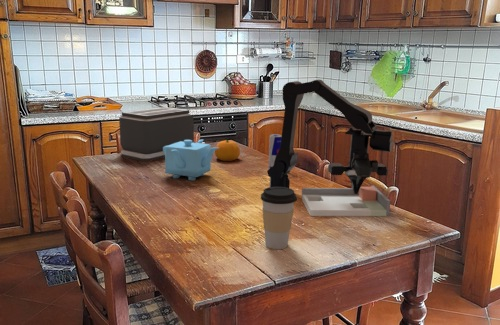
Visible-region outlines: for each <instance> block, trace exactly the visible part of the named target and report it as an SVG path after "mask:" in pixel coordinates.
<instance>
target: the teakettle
mask: <svg viewBox="0 0 500 325" xmlns="http://www.w3.org/2000/svg"><path fill="white" fill-rule="evenodd" d="M203 142H204V139H201V138H200V139H199V140H198V141H197V142H193V143H192V140H184V142H182V141H180V142H177V143H174V144H171V145H168V146H164V147H163V151H164V153H165V158H164V163H165V164H164V165H165V167H164V169H165V170H164V171H165V174H168V175H172V177H171V178H172V179H179V178H180V177H181V176H185V177H187V180H188V181H196V178H199V177H204V176H205V174H206V173H208V172H210V171H211V167H212V166H211V165H212V164H211V162H212V158H213V155H214V153H215V150H216V149H218V147H216V146H214V147H212V146H211V144H209V143H203Z"/></svg>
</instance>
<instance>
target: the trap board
mask: <svg viewBox="0 0 500 325" xmlns="http://www.w3.org/2000/svg"><path fill="white" fill-rule="evenodd" d="M370 187H373V188H375V189H376V190H377V194H376V201H363V200H362V199H361V198H360V197H359V191H358V194H354V191H353V188H352V187H351V188H350V187H344V188H343V187H302V188H301V201H302V203H303V205H304V207H305V209H306V210H307V212H308V213H309V216H310V217H390V212H391V200H390V199H389V198H388V197H387V196H386V195H385V194H383V193H382V191H380V190H379V188H377V187H376V186H375V185H370Z"/></svg>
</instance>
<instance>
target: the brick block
mask: <svg viewBox="0 0 500 325" xmlns="http://www.w3.org/2000/svg"><path fill="white" fill-rule="evenodd" d="M376 194H377V190H376V189H375V188H373V187H371V186H361V187H360V189H359V197H360V198H361V199H362V200H363V201H376Z"/></svg>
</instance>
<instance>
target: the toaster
mask: <svg viewBox="0 0 500 325" xmlns="http://www.w3.org/2000/svg"><path fill="white" fill-rule="evenodd" d="M194 120H195V119H194V116H193V115H192V114H190V110H189V109H185V108H176V107H175V108H174V107H167V106H165V107H164V106H163V107H156V108H147V109H139V110H132V111H130V110H129V111H123V112H121V115H120V116H119V118H118V121H119V141H120V144H119V145H120V146H121V149H120V155H121V157H123V158H127V159H131V160H136V161H141V162H152V161H156V160H160V159H164V158H163V157H165V153H164V151H163V147H164V146H168V145H171V144H174V143H177V142H180V141H182V142H184V140H192V143H195V142H194V141H195V137H194V135H195V131H194V130H195V128H194V127H195V124H194V123H195V122H194ZM159 158H160V159H159ZM155 159H156V160H155ZM151 160H152V161H151Z"/></svg>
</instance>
